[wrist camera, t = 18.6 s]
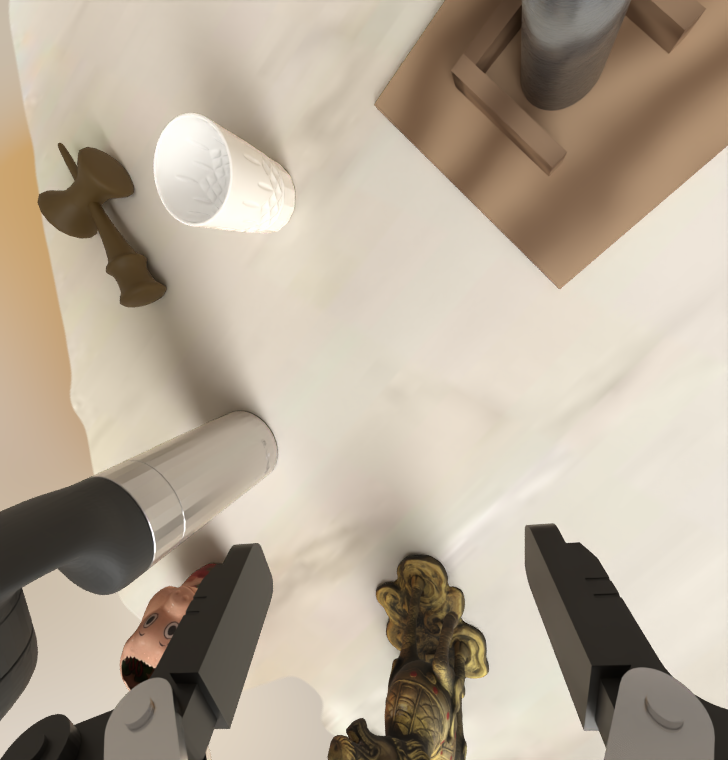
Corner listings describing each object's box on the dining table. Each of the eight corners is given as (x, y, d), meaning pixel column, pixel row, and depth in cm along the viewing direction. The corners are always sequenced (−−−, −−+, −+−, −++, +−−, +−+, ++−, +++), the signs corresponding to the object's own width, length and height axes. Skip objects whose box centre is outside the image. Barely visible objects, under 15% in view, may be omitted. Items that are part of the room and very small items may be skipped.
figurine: (487, 565, 38) (466, 822, 20) (490, 745, 44) (475, 1076, 26) (372, 544, 43) (270, 736, 25) (388, 709, 49) (313, 966, 30)
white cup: (224, 202, 39) (138, 177, 30) (264, 136, 36) (182, 87, 27) (270, 255, 39) (198, 247, 30) (316, 194, 36) (249, 164, 26)
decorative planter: (260, 664, 56) (188, 774, 44) (198, 633, 60) (116, 725, 48) (261, 557, 50) (178, 648, 38) (192, 530, 54) (96, 604, 42)
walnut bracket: (855, 34, 21) (906, -3, 19) (559, 288, 30) (564, 289, 27) (583, -194, 23) (593, -259, 20) (376, 107, 32) (363, 90, 29)
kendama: (144, 316, 49) (65, 175, 47) (191, 280, 45) (107, 125, 43) (100, 321, 43) (9, 161, 41) (149, 281, 39) (51, 102, 37)
